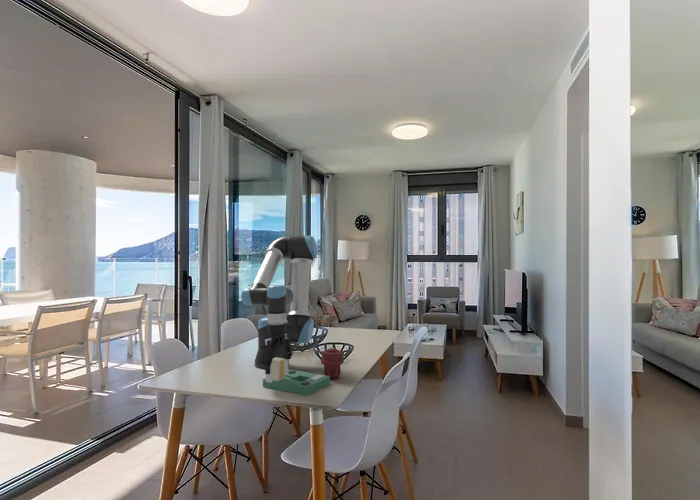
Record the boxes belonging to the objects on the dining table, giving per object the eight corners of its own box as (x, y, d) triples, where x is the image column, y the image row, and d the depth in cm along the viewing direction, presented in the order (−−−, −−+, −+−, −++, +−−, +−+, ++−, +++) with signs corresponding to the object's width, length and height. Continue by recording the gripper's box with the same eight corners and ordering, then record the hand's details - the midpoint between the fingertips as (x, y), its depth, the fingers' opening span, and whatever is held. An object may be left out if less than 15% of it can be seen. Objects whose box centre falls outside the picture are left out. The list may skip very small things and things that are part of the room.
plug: (269, 379, 161) (269, 359, 161) (276, 376, 165) (276, 357, 165) (278, 381, 158) (278, 361, 158) (285, 378, 162) (285, 358, 162)
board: (262, 386, 161) (262, 377, 161) (287, 375, 175) (287, 367, 175) (307, 395, 151) (307, 386, 151) (329, 383, 165) (329, 374, 165)
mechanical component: (320, 381, 167) (320, 374, 177) (344, 381, 168) (343, 373, 178) (320, 352, 167) (320, 346, 177) (344, 351, 168) (342, 346, 178)
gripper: (266, 328, 150) (266, 387, 150) (300, 319, 170) (301, 372, 170) (251, 327, 154) (251, 384, 154) (286, 318, 173) (287, 369, 173)
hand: (277, 378), depth 162 cm, fingers open, 9 cm apart
